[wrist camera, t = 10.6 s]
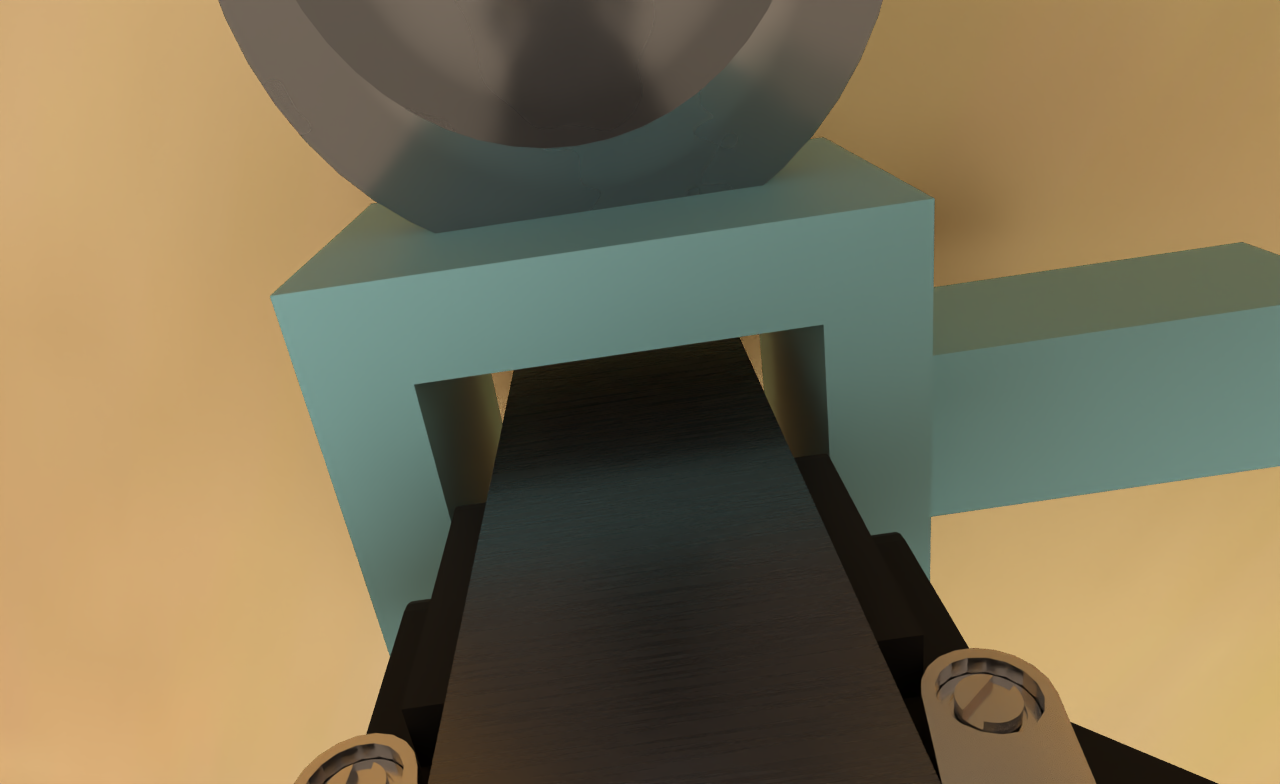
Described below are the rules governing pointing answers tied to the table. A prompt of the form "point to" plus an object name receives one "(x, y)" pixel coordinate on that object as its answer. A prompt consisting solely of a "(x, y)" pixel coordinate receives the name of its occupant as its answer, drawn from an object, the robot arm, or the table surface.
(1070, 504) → the table surface
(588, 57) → the grey tall round-topped piece
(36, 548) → the table surface
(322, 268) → the teal square frame handle
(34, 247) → the table surface
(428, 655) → the robot arm
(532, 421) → the steel wedge pin
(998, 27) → the table surface
